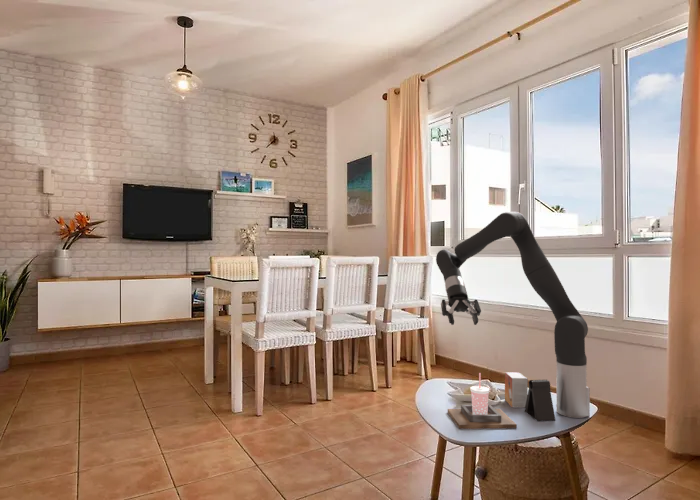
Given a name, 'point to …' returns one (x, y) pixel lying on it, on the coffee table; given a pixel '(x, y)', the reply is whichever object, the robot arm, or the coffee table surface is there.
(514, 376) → the small box
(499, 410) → the walnut socket plate
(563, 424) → the coffee table surface
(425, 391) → the coffee table surface
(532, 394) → the black tent sign
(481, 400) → the beverage cup
